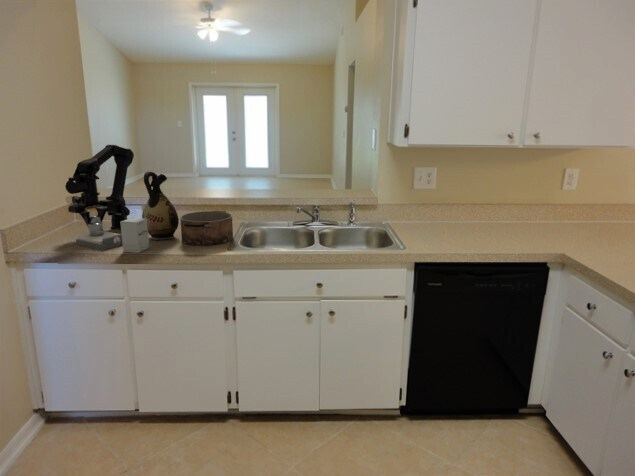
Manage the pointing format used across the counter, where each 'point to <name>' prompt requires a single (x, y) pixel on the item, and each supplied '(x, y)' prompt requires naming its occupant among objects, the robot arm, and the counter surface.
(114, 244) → the kitchen scale
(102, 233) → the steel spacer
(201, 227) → the cooking pot
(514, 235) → the counter surface
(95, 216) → the steel spacer
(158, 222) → the ceramic jug
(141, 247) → the supplement box
